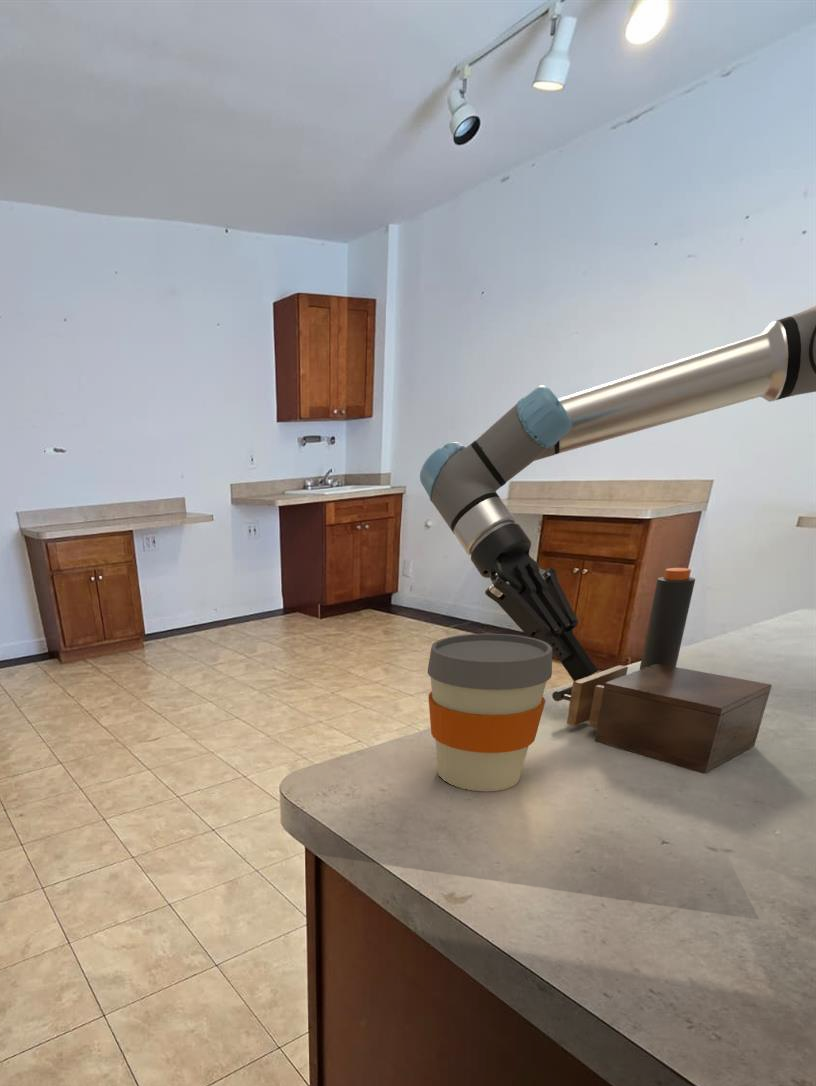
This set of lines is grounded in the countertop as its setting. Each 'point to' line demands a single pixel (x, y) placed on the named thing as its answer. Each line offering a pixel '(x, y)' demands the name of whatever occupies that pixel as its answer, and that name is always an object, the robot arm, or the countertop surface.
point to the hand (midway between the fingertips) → (586, 677)
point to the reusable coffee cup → (486, 706)
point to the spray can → (668, 618)
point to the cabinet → (682, 715)
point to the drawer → (587, 695)
